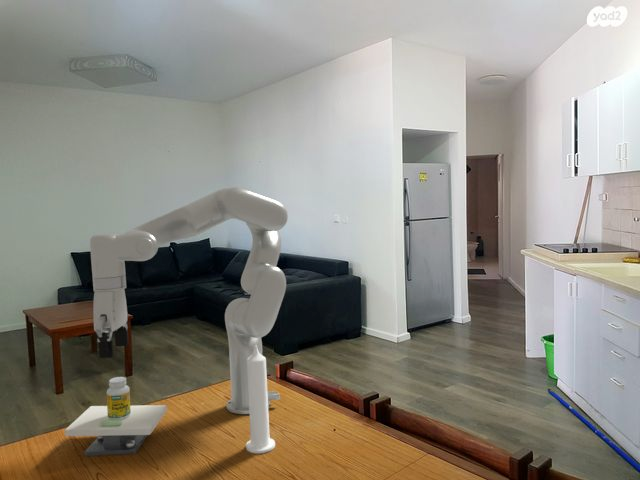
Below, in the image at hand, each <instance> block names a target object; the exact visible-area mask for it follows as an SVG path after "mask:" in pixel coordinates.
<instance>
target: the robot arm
mask: <svg viewBox="0 0 640 480" xmlns="http://www.w3.org/2000/svg"><path fill="white" fill-rule="evenodd" d="M288 217H289V216H288V211H287V209H286V207H285V206H284V205H283V204H282V203H281V202H280V201H277V200H275V199H273V198H270V197H266V196H263V195H261V194H259V193H257V192H256V193H255V192H253V191H250V190H249V189H246V188H242V187H225V188H221V189H218V190H216V191H214V192H212V193H209V194H208V195H205V196H203V197H200V198H198V199H197V200H195V201H192V202H190V203H188V204H186V205H183V206H181V207H179V208H176V209H174V210H172V211H170V212H168V213H166V214H164V215H161V216H159V217H156V218H153V219H151V220H150V221H147V222H144V223H143V224H141V225H138V226H136V227H134V228H132V229H129V230H128V231H126V232H125V233H123V234H119V233H115V232H113V233H112V232H111V233H98V234H94V235H92V236H91V237H90V239H89V245H90V246H89V247H90V248H89V249H90V261H91V263H90V264H91V273H92V286H93V292H94V293H93V308H92V309H93V313H92V314H93V330H94V331H95V332H96V337H97V339H96V340H97V343H98V353H99V354H98V355H99V358H100V359H107V358H108V359H109V358H110V359H111V358H114V356H115V351H114V342H115V346H116V347H127V346H128V345H129V332H128V331H129V330H128V328H129V326H128V322H129V321H128V306H127V298H126V291H125V289H127V277H126V264H125V261H126V262H130V261H131V262H132V261H133V262H145V261H148V260H151V259H153V257H154V256H155V255H157V253H158V250H159V248H160V247H162V246H164V245H166V244H169V243H172V242H175V241H179V240H186V239H190V238H194V237H197V236H198V235H200V234H202V233H204V232H206V231H208V230H210V229H211V228H214V227H216V226H218V225H220V224H222V223H224V222H227V221H229V220H230V219H234V220H238V221H242V222H244V223H245V224H246V225H247V227H248V229H249V231H250V233H251V237H252V244H251V249H250V251H249V255H248V257H247V260H246V263H245V267H244V269H243V272H242V274H241V278H240V285H241V289H242V290H243V291H244V292H245V293H247V294H249V295H250V297H249V298H246V297H238V298H236V299H233V300H232V301H230V302H229V303H228V305H227V307H226V309H225V312H224V322H225V323H224V324H225V329H226V334H227V341H228V342H227V343H228V353H229V354H228V355H229V357H228V359H229V372H230V373H229V374H230V375H229V376H230V377H229V378H230V392H231V393H230V394H231V398H230V399H229V400H228V401H227V402H226V410H227V411H228V412H230V413H232V414H237V415H250V412H249V393H248V373H247V359H248V358H249V357H250V356H251V355H252V354H253V352H254V346H255V345H257V348H258V351H259V353H260V354H261V355H263V341H262V338H263V337H265V336H267V335H268V334H269V333H270V332H271V330H272V329H273V327H274V325H275V324H276V323H275V322H276V321H277V318H278V315H279V311H280V308H281V306H282V302H283V299H284V297H285V294H286V289H287V278H286V275H285V273H284V271H283V270H282V269H280V267H278V266H277V265H278V261H279V259H280V255H281V251H282V240H281V236H280V232H279V231H280V230H282V228H284V227H285V225H287V222H288ZM113 332H114V340H112V336H113ZM267 393H268V408H269V407H270V406H271V401H279V400H280V398H281V396H280V395H281V394H280V392H277V391H276V390H271V391H270V390H267Z"/></svg>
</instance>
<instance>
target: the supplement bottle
mask: <svg viewBox="0 0 640 480" xmlns="http://www.w3.org/2000/svg"><path fill="white" fill-rule="evenodd" d="M108 386H109V387H108V388H107V389H106V406H107V412H108V419H110V420H113V421H116V420H123V419H125V418H127V417H129V416H130V413H131V412H130V411H131V410H130V406H131V396H130V395H131V394H130V393H131V391H130V386H129V385H127V378H126V377H124V376H117V377H116V376H115V377H112V378H111V379H109V380H108Z"/></svg>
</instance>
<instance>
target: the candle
mask: <svg viewBox="0 0 640 480" xmlns="http://www.w3.org/2000/svg"><path fill="white" fill-rule="evenodd" d="M247 373H248V393H249V412H250V414H249V426H250V427H249V429H250V439H249V440H248V441H247V442H246V443H245V449H246V451H247V452H249V453H251V454H256V455H258V454H260V455H261V454H265V453H269V452H271V451H272V450H273V449H274V448H275V447H276V441H275V439H273V438H271V437H270V417H269V415H270V414H269V407H268V393H267V391H268V379H267V377H268V375H267V374H268V373H267V358H266V356H264V355H263V354H262V355H261V354H260V353H259V351H258V348H257V345H255V346H254V352H253V354H252V355H251V356H250V357H249V358H248V359H247Z"/></svg>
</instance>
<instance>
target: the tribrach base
mask: <svg viewBox="0 0 640 480" xmlns="http://www.w3.org/2000/svg"><path fill="white" fill-rule="evenodd" d="M148 436H149V435H108V436H96V437H97V438H96V439H95V440H93V442H92V443H91V444H90V445H89V446H88V447H87V448H86V449H85V450H84V457H89V456H91V457H92V456H109V455H111V456H113V455H132V454H133V455H134V454H136V453H137V451H138V450H139V449H140V447H141V446H142V445H143V443H144V442H145V440H146V439H147V437H148Z"/></svg>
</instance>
